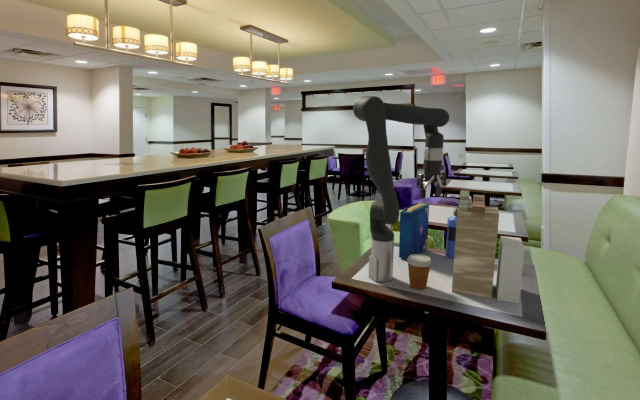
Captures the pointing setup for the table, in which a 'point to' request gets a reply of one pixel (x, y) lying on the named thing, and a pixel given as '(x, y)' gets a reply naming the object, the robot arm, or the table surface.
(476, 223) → the birch rack
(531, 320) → the table surface
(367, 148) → the robot arm
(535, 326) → the table surface
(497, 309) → the table surface
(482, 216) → the walnut block
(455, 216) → the water bottle
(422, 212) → the book
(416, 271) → the disposable coffee cup
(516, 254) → the grey rectangular block
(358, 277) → the table surface
